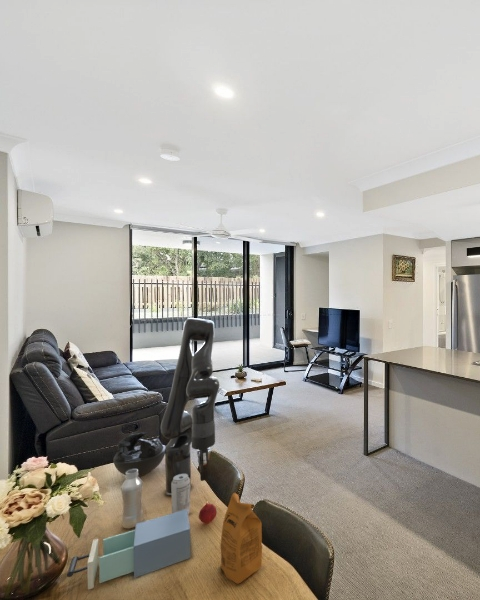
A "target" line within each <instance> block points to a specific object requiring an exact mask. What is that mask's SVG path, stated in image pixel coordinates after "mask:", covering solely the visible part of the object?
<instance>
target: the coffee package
mask: <svg viewBox="0 0 480 600" xmlns="http://www.w3.org/2000/svg"><path fill="white" fill-rule="evenodd" d="M253 509H255V504H254V503H248V502H247V503H246V502H241V500H240V497H239V494H238V493H236V492H233V493H232V495H231V496H230V500H229V502H228V505H227V509H226V512H225V515H224V518H223V521H222V526H221V527H222V529H221V536H220V537H221V538H220V545H219V546H220V547H219V548H220V569H221V570H222V571H223V573H224V575H225V576H226V578H227V579H228V580H229V581H232V582H234V583H235V584H237V585H238V584H241V583H242V582H244V581H245V580H246V579H248V578H249V577H250V576H251V575H253V574H254V573H257V571H259V570H260V568H262V566H263V563H262V562H263V561H262V558H263V542H262V541H263V533H262V531H263V530H262V527H263V522H262V521H261V519H260V518H259V516H257V515H256V513H254V510H253Z"/></svg>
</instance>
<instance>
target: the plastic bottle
mask: <svg viewBox="0 0 480 600" xmlns="http://www.w3.org/2000/svg"><path fill="white" fill-rule="evenodd" d="M124 477H125V479H124V481H123V482H122V483H121V487H120V491H121V496H122V506H123V507H122V515H121V516H122V517H121V525H122V527H123V528H125V529H134V528H135V527H136V524H137V523H141V522H144V518H145V517H144V515H145V514H144V510H143V503H142V494H143V485H144V482H143V480H142V479H141V478H140V476H138V469H132V470H129V471H127V472H126V475H124Z"/></svg>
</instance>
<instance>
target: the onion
mask: <svg viewBox="0 0 480 600" xmlns="http://www.w3.org/2000/svg"><path fill="white" fill-rule="evenodd" d="M217 510H218V509H217V507H216V506H215V505H214V504H213V503H210V502H209V501H206V502H205V504H204V505H203V506H202V507H201V509H200V510H199V512H198V519H199V521H200V522H201V523H202V524H206V525H208V524H210V523H211V522H213V521H214V520H215V519H216V517H217V513H218V512H217Z"/></svg>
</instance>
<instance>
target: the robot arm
mask: <svg viewBox="0 0 480 600" xmlns="http://www.w3.org/2000/svg"><path fill="white" fill-rule="evenodd" d="M214 338H215V323H214V321H212V320H209V319H204V318H203V319H202V318H194V317H190V318H189V317H188V318H186V320H185V322H184V325H183V330H182V335H181V342H180V347H179V348H180V349H179V354H178V358H177V362H176V366H175V370H174V374H173V379H172V385H171V389H170V393H169V397H168V402H167V404H166V408H165V410H164V414H163V417H162V419H161V423H160V433H161V435H162V437H163V438H165V439H167V440H169V442H167V444H166V445H165V455H164V461H165V463H164V465H165V467H164V469H165V490H164V491H165V496H170V497H172V492H171V483H172V481H173V478H174V477H175V476H176V475H179V474H188V477H189V478H190V489H191V488H192V473H191V472H192V470H191V467H192V466H191V465H192V464H191V463H192V462H191V460H192V459H191V448H192V449H193V450H197V451H196V456H197V463H198V466H199V478H200V479H199V480H200V482H204V481H207V480H208V471H209V469H210V467H209V465H210V456H211V450H210V448H211V447H213V446H214V445H216V422H215V404H216V400H217V396H218V394H219V390H220V381H219V380H218V378H217V377H214V376H212V375H213V372H214V371H213V370H214V369H213V349H214V341H215V339H214ZM193 341H194V342H204V343H203V345H201V347H200V348H198V349H197V350H196V352H195V353H193V351H192V348H191V342H193ZM205 398H207V399H206V400H205V401H203V402H201V403H197V404H195V405H194V406H192V409H191V414H190V412H188V411H185V408H186V406H187V404H188V403H189V401H190V400H198V399H205Z"/></svg>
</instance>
